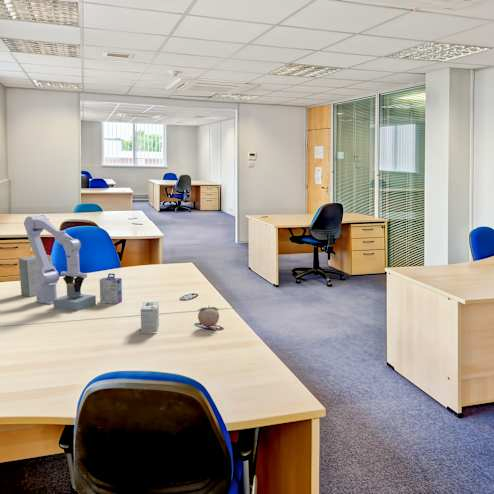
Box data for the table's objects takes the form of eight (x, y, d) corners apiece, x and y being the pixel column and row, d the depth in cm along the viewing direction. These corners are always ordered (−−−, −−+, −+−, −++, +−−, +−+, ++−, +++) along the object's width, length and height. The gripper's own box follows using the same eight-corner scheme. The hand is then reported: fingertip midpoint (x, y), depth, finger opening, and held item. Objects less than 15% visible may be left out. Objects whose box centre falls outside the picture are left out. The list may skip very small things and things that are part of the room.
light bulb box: (143, 325, 225) (143, 301, 223) (159, 325, 226) (158, 301, 224) (140, 334, 214) (140, 308, 213) (157, 333, 215) (156, 308, 213)
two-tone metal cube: (67, 296, 253) (66, 283, 251) (74, 294, 257) (73, 281, 256) (73, 297, 251) (73, 284, 250) (80, 295, 256) (80, 282, 255)
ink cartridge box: (122, 301, 265) (122, 273, 262) (118, 304, 259) (117, 275, 257) (104, 300, 267) (103, 272, 264) (99, 302, 261) (98, 274, 259)
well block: (53, 307, 252) (53, 299, 251) (73, 300, 264) (73, 292, 264) (77, 311, 246) (76, 302, 246) (95, 303, 259) (95, 295, 259)
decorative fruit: (201, 332, 217) (201, 309, 216) (195, 326, 225) (195, 304, 223) (222, 329, 221) (222, 306, 220) (216, 323, 229) (216, 302, 227)
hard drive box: (46, 289, 288) (44, 254, 284) (54, 291, 283) (52, 255, 280) (20, 295, 275) (18, 258, 272) (28, 297, 271) (26, 259, 268)
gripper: (55, 264, 251) (57, 291, 253) (79, 266, 246) (81, 294, 248) (65, 261, 257) (66, 288, 260) (89, 264, 252) (90, 291, 254)
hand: (74, 291), depth 254 cm, fingers closed on two-tone metal cube, 4 cm apart
